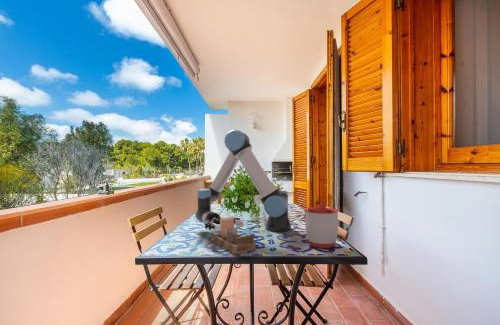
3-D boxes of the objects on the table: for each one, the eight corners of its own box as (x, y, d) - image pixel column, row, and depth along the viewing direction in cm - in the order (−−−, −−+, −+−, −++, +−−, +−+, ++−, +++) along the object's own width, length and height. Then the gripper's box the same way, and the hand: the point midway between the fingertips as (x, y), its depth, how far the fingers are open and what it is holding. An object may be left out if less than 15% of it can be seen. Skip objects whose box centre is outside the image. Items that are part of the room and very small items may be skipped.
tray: (212, 242, 129) (212, 228, 129) (231, 238, 135) (231, 225, 135) (235, 254, 110) (235, 238, 110) (255, 249, 117) (255, 234, 117)
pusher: (225, 243, 123) (225, 229, 123) (236, 241, 126) (235, 227, 126) (226, 243, 122) (226, 229, 122) (237, 241, 125) (237, 227, 125)
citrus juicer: (306, 238, 134) (306, 200, 134) (341, 242, 126) (340, 202, 126) (297, 246, 120) (297, 204, 120) (335, 252, 112) (335, 207, 112)
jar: (234, 238, 131) (233, 215, 131) (234, 242, 124) (234, 218, 124) (220, 238, 130) (220, 215, 130) (219, 243, 123) (219, 218, 123)
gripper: (231, 222, 149) (251, 229, 131) (190, 228, 134) (207, 238, 117) (230, 209, 149) (251, 215, 131) (190, 214, 134) (207, 222, 117)
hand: (231, 226), depth 124 cm, fingers open, 13 cm apart
